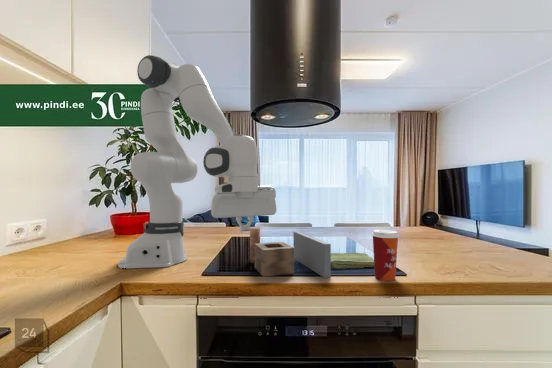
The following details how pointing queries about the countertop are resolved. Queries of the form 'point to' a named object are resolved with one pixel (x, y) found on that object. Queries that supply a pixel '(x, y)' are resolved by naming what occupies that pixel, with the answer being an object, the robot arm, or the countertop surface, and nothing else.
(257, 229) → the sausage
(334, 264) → the washcloth
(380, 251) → the paper cup
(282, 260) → the block
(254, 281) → the countertop surface
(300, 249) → the wall
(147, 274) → the countertop surface
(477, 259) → the countertop surface
